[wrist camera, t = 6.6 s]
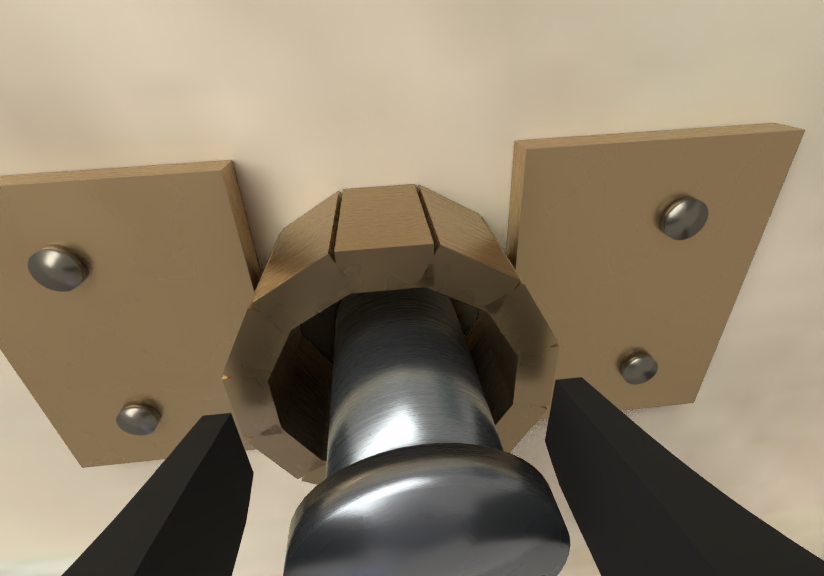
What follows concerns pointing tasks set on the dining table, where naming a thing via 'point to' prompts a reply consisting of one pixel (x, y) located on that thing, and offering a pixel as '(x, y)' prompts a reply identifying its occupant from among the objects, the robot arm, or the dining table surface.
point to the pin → (418, 458)
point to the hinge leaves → (376, 286)
